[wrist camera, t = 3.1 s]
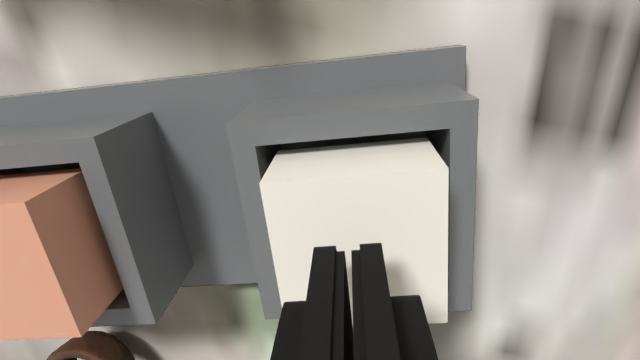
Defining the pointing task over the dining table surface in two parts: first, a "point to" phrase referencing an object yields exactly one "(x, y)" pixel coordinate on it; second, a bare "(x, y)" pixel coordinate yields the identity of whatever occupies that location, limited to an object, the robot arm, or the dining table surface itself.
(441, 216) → the key cream
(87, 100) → the key panel
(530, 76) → the dining table surface
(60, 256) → the key terracotta
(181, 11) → the dining table surface
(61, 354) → the dish
